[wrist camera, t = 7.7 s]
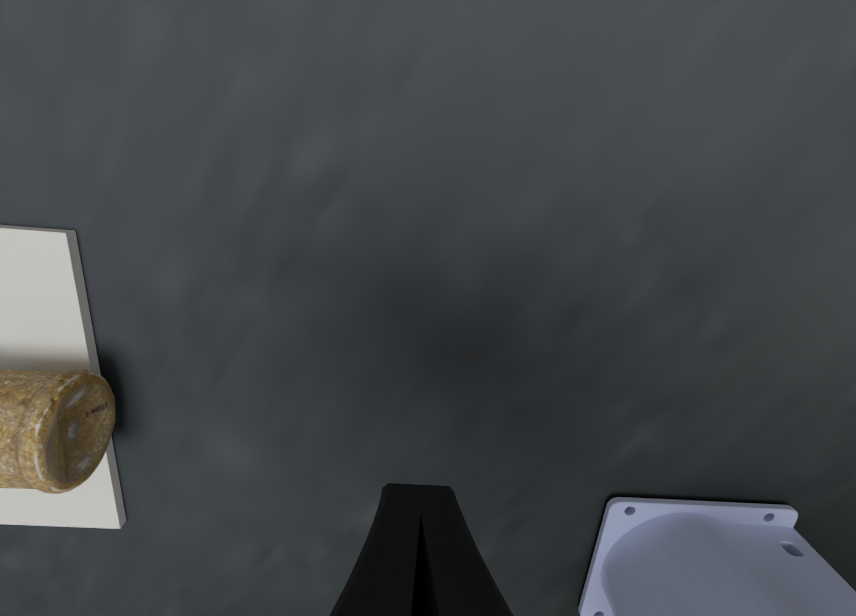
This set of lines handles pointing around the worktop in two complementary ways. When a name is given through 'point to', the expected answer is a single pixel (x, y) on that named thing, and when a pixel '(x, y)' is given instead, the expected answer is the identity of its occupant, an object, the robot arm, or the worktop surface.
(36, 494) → the mat
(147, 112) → the worktop surface
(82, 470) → the sprinkles bottle
